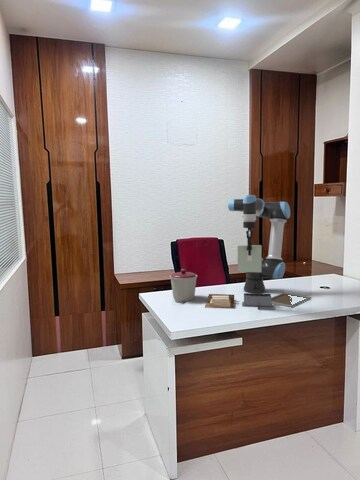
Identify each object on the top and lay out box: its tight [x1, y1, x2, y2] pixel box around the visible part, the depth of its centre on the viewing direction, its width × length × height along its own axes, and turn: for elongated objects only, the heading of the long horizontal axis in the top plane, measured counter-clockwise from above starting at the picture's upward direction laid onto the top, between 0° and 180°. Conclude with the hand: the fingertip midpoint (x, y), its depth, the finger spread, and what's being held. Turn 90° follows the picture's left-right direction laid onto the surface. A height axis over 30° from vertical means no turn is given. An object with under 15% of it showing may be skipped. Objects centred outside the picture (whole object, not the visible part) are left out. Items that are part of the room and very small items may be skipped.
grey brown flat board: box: [271, 292, 312, 308], centre depth 227 cm, size 19×2×30 cm
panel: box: [237, 244, 263, 273], centre depth 213 cm, size 2×14×16 cm, turn 78°
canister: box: [169, 268, 198, 303], centre depth 231 cm, size 18×18×21 cm
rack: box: [204, 293, 237, 310], centre depth 218 cm, size 20×18×6 cm
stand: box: [241, 292, 274, 311], centre depth 214 cm, size 10×18×8 cm, turn 80°
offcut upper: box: [212, 296, 229, 303], centre depth 214 cm, size 7×10×2 cm
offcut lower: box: [210, 299, 231, 307], centre depth 214 cm, size 8×12×2 cm, turn 80°
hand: (249, 260), depth 213 cm, fingers closed on panel, 2 cm apart
